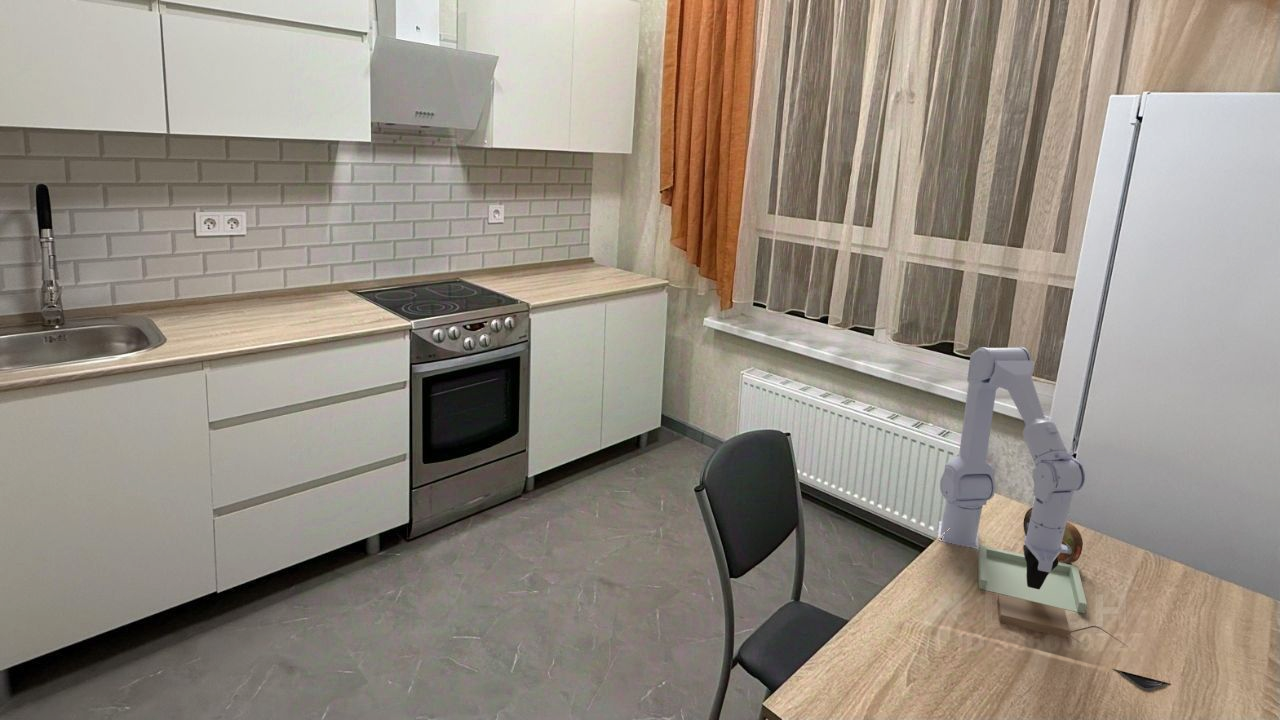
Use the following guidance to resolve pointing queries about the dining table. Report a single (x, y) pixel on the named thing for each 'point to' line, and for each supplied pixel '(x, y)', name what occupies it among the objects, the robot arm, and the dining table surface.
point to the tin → (1063, 540)
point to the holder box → (1010, 579)
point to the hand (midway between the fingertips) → (1033, 586)
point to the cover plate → (1033, 616)
